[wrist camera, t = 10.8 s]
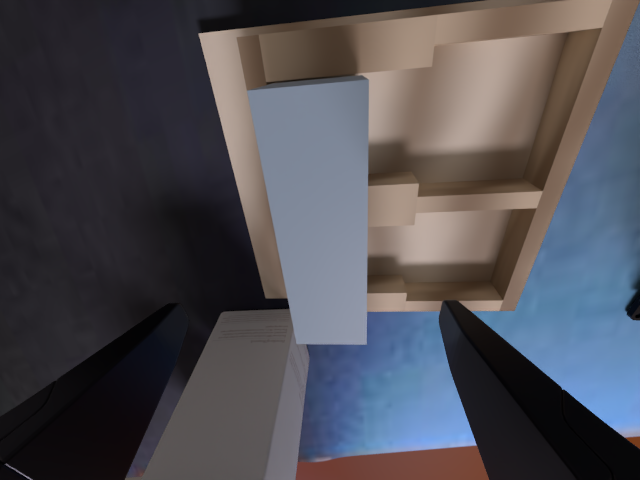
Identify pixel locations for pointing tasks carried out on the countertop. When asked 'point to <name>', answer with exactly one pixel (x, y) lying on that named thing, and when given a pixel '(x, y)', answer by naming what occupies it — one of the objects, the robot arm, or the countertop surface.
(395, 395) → the countertop surface
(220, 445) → the supplement box
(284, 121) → the grey rectangular block
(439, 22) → the divided wooden tray
